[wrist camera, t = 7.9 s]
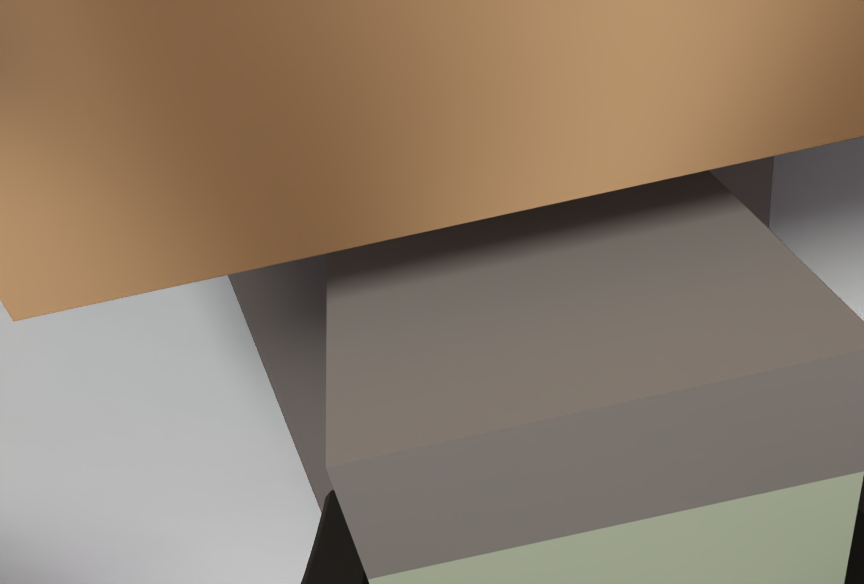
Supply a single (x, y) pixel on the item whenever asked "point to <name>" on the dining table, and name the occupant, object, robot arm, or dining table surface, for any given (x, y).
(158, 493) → the dining table surface
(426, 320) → the capped block
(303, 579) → the robot arm
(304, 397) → the mat
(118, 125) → the wooden tray
